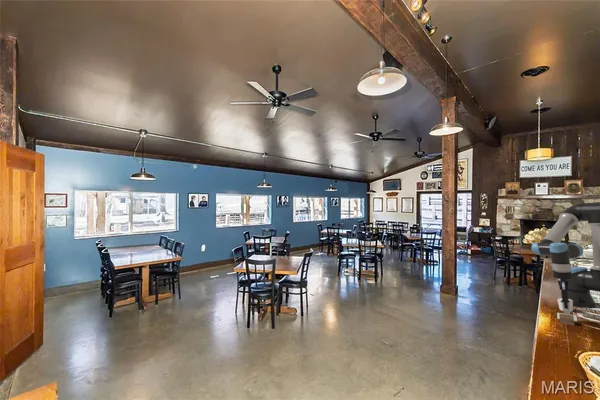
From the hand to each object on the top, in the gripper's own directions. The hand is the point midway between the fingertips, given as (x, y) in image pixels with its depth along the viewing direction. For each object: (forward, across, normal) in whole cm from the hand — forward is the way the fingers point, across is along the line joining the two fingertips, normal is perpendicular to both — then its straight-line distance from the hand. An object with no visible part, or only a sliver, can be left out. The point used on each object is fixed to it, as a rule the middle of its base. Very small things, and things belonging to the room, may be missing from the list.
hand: (567, 313), depth 152 cm
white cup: (+5, -19, 0) cm, 20 cm away
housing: (+4, +4, 0) cm, 6 cm away
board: (+4, -6, 0) cm, 7 cm away
